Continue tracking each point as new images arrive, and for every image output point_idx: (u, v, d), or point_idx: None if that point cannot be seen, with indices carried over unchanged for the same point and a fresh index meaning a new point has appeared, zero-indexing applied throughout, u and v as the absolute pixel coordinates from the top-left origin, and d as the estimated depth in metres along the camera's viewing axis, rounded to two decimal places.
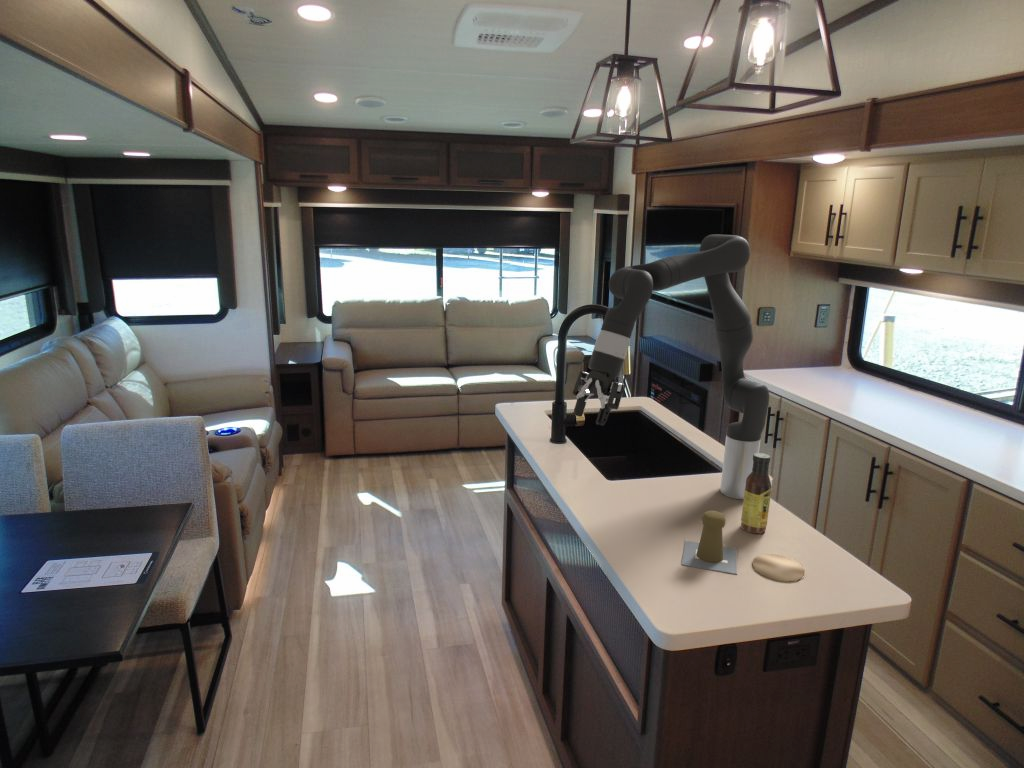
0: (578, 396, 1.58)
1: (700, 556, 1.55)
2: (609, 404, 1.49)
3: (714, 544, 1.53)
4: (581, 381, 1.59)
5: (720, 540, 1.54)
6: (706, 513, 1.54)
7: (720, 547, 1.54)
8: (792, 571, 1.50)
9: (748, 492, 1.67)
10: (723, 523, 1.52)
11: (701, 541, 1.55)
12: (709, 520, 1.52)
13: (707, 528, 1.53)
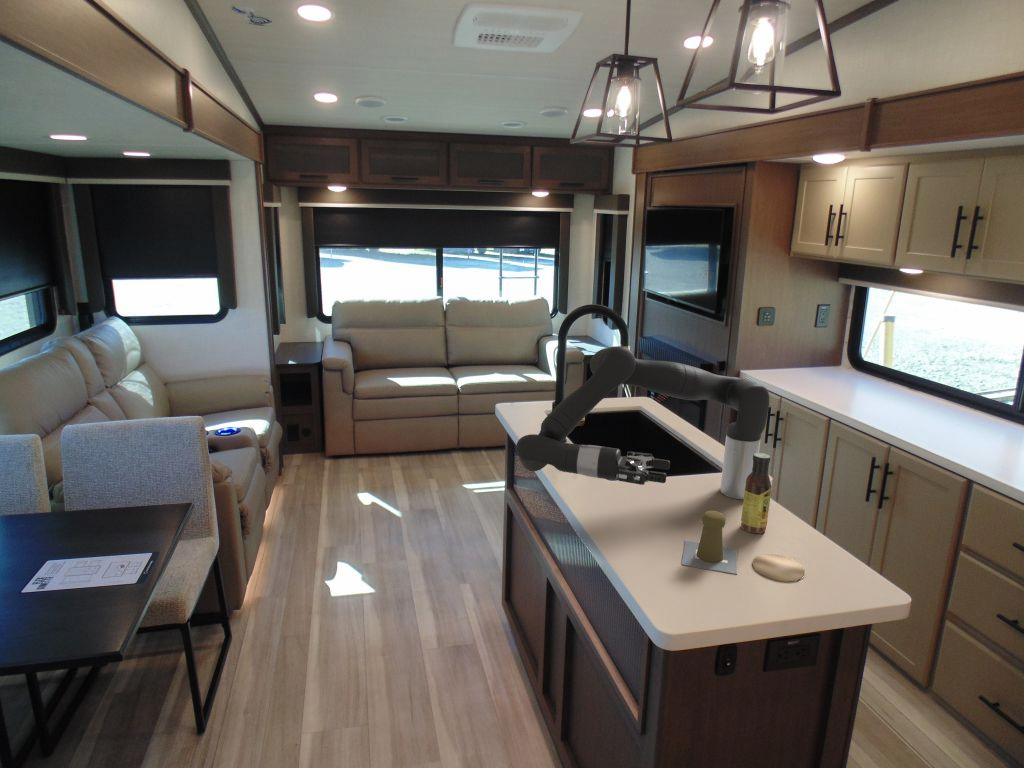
0: None
1: (700, 556, 1.55)
2: None
3: (714, 544, 1.53)
4: None
5: (720, 540, 1.54)
6: (706, 513, 1.54)
7: (720, 547, 1.54)
8: (792, 571, 1.50)
9: (748, 492, 1.67)
10: (723, 523, 1.52)
11: (701, 541, 1.55)
12: (709, 520, 1.52)
13: (707, 528, 1.53)
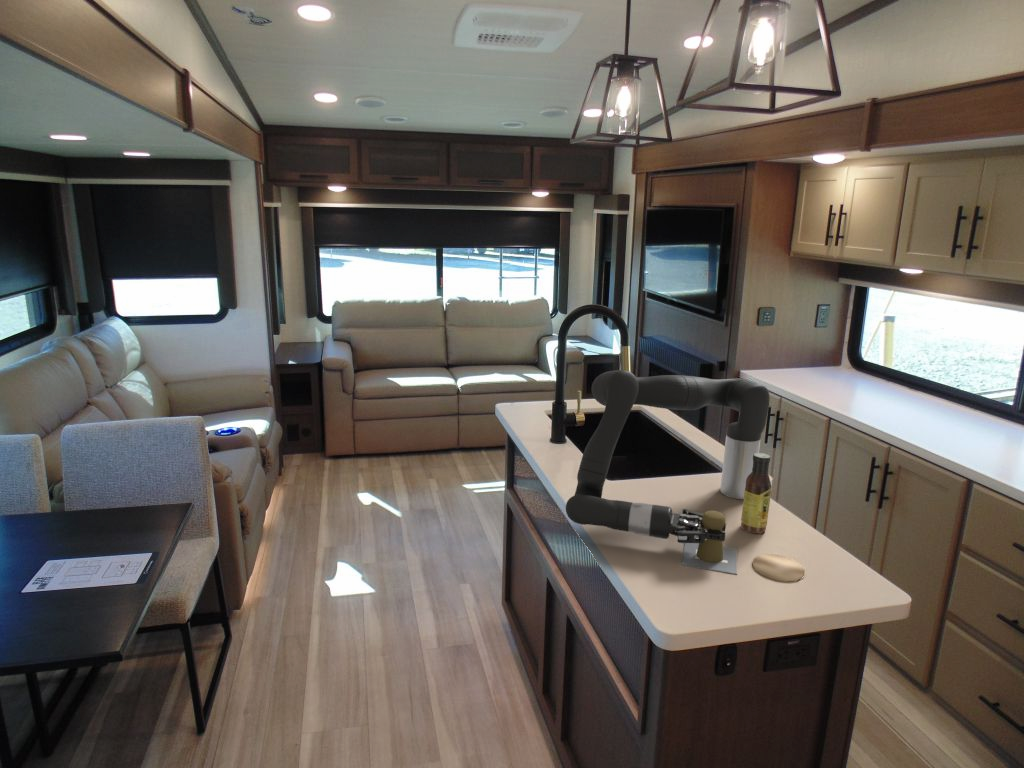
0: None
1: (700, 556, 1.55)
2: None
3: (714, 544, 1.53)
4: None
5: None
6: (706, 513, 1.54)
7: (720, 547, 1.54)
8: (792, 571, 1.50)
9: (748, 492, 1.67)
10: (723, 523, 1.52)
11: None
12: (709, 520, 1.52)
13: (707, 528, 1.53)
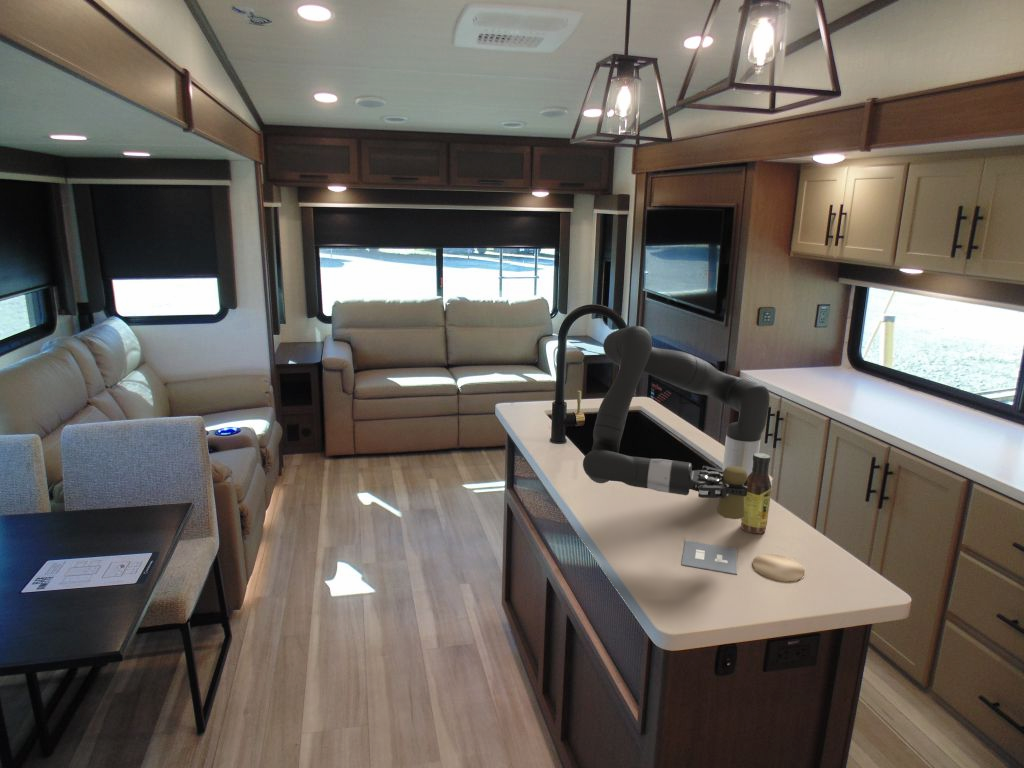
0: None
1: (721, 512, 1.51)
2: None
3: (736, 499, 1.49)
4: None
5: (742, 496, 1.50)
6: (727, 468, 1.50)
7: (742, 503, 1.50)
8: (792, 571, 1.50)
9: (748, 492, 1.67)
10: (745, 478, 1.48)
11: None
12: (730, 475, 1.48)
13: (728, 483, 1.50)
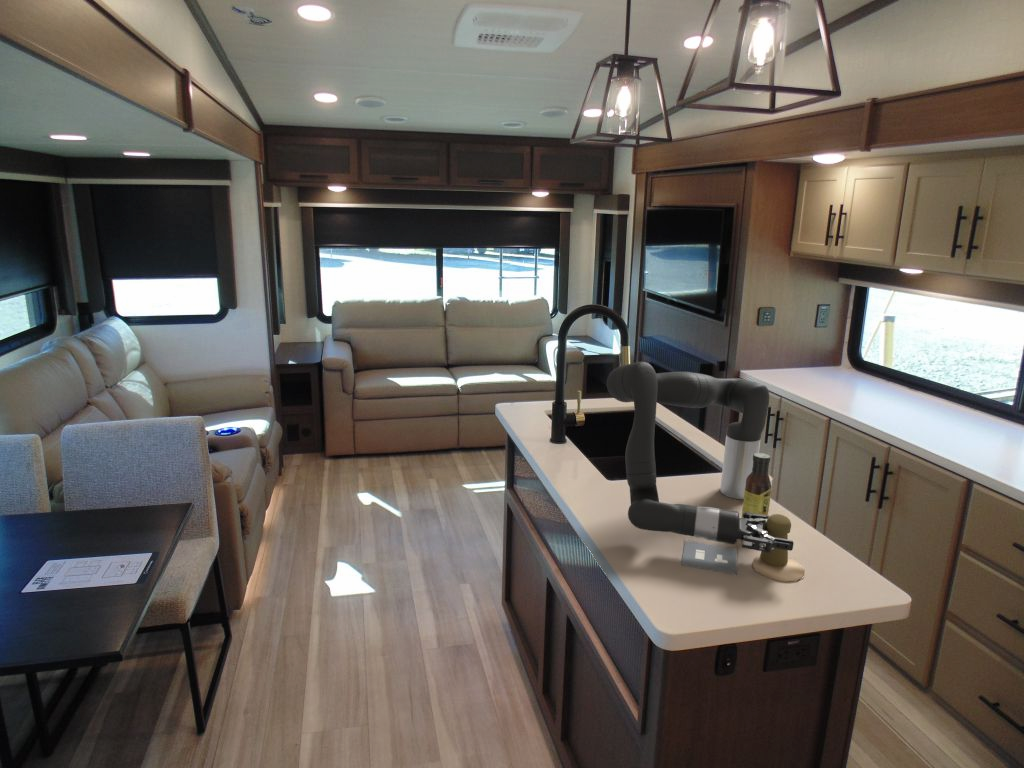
0: None
1: (764, 559, 1.53)
2: None
3: None
4: None
5: None
6: (771, 518, 1.51)
7: (785, 551, 1.52)
8: (792, 571, 1.50)
9: (748, 492, 1.67)
10: (789, 528, 1.49)
11: None
12: (775, 526, 1.49)
13: (772, 533, 1.51)
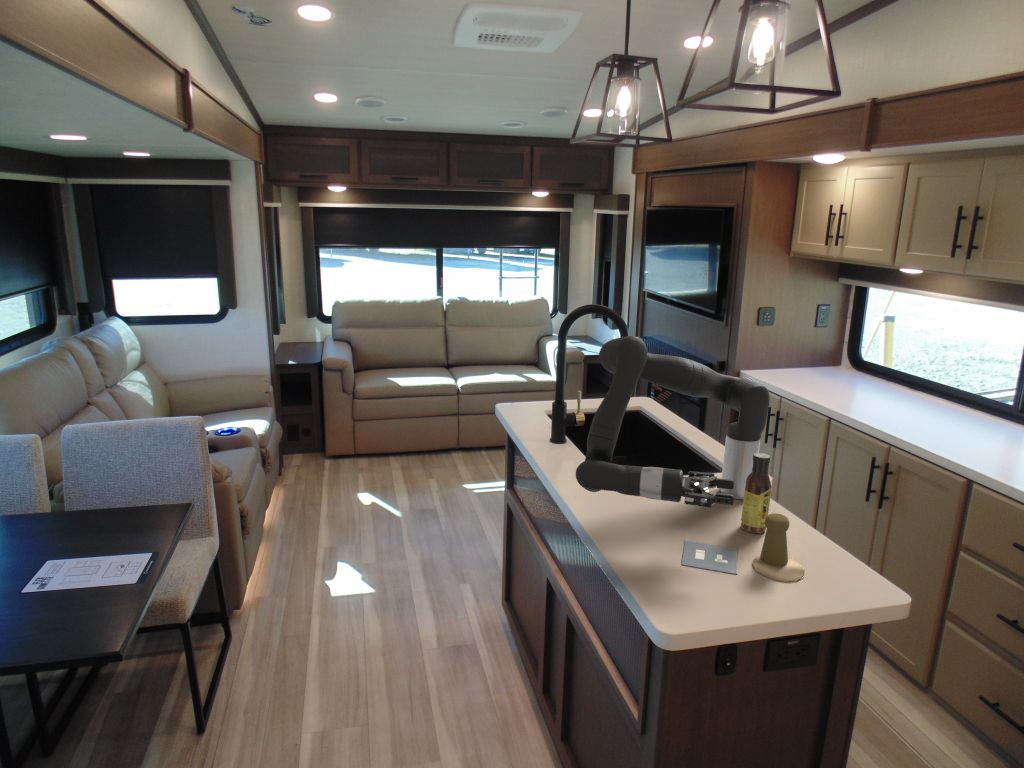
0: None
1: (764, 559, 1.54)
2: None
3: (779, 547, 1.51)
4: None
5: (784, 543, 1.52)
6: (769, 516, 1.52)
7: (785, 550, 1.52)
8: (792, 571, 1.50)
9: (748, 492, 1.67)
10: (787, 526, 1.50)
11: (765, 544, 1.53)
12: (772, 524, 1.50)
13: (770, 531, 1.51)
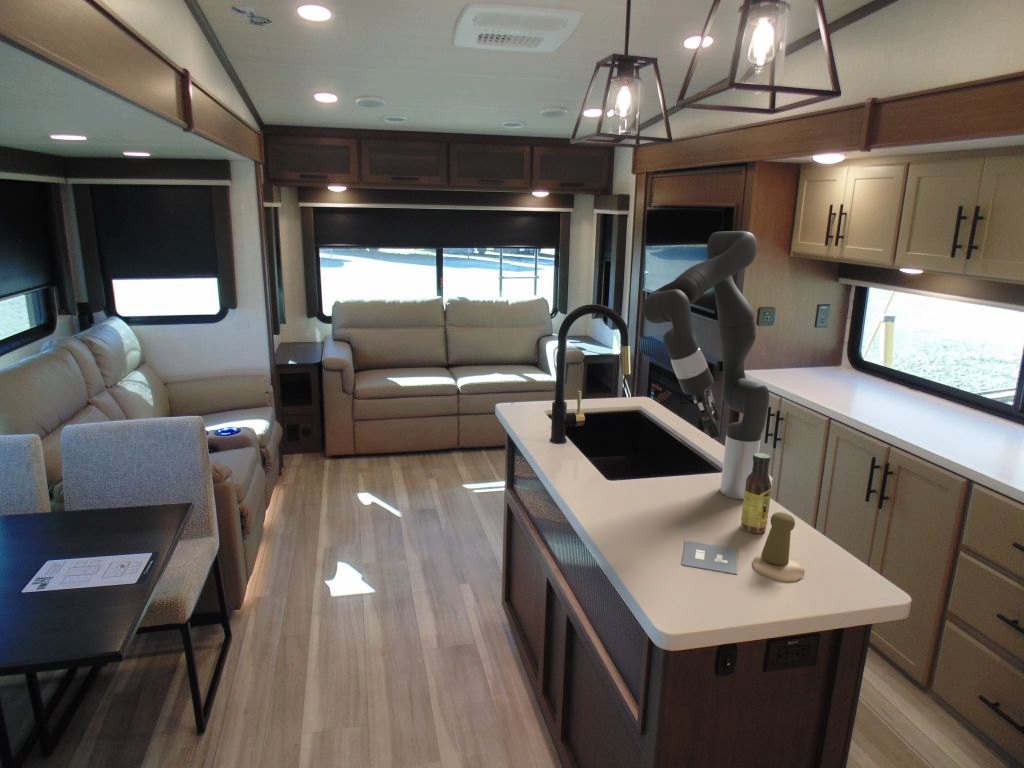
0: None
1: (765, 556, 1.54)
2: (702, 424, 1.54)
3: (781, 545, 1.51)
4: None
5: (787, 543, 1.52)
6: (775, 514, 1.53)
7: (786, 550, 1.52)
8: (792, 571, 1.50)
9: (748, 492, 1.67)
10: (792, 525, 1.51)
11: (767, 541, 1.54)
12: (778, 521, 1.51)
13: (774, 528, 1.52)
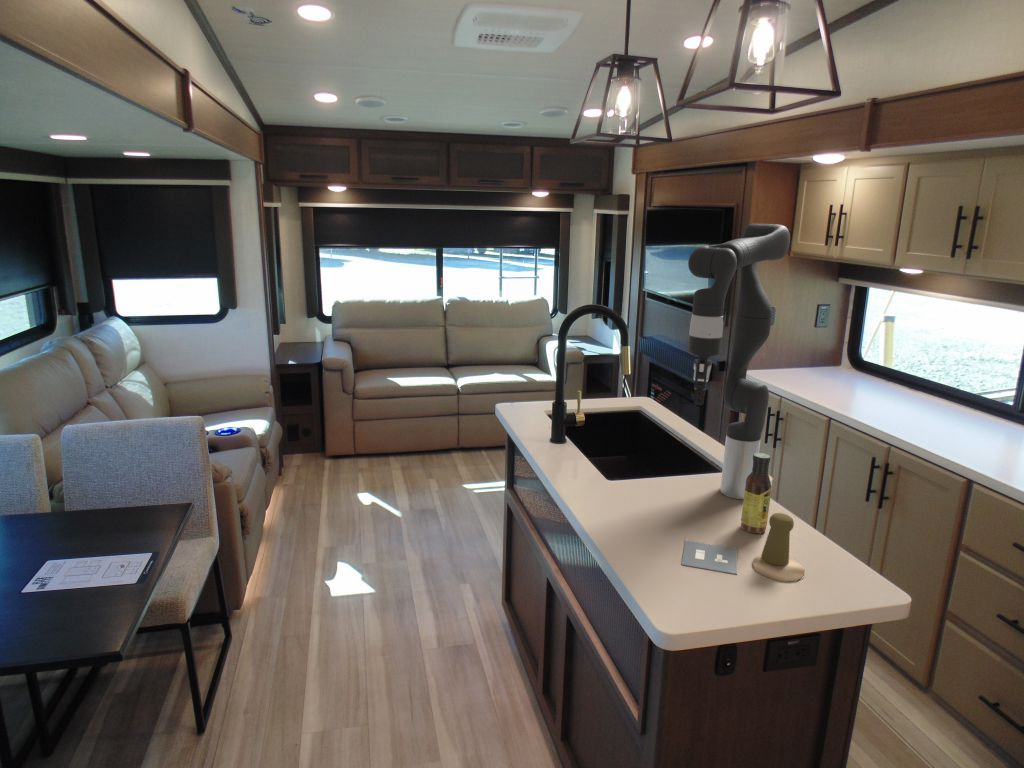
0: None
1: (764, 557, 1.54)
2: (694, 385, 1.55)
3: (779, 546, 1.51)
4: None
5: (786, 543, 1.52)
6: (774, 515, 1.53)
7: (786, 550, 1.52)
8: (792, 571, 1.50)
9: (748, 492, 1.67)
10: (791, 526, 1.50)
11: (767, 542, 1.54)
12: (776, 522, 1.51)
13: (773, 529, 1.52)
